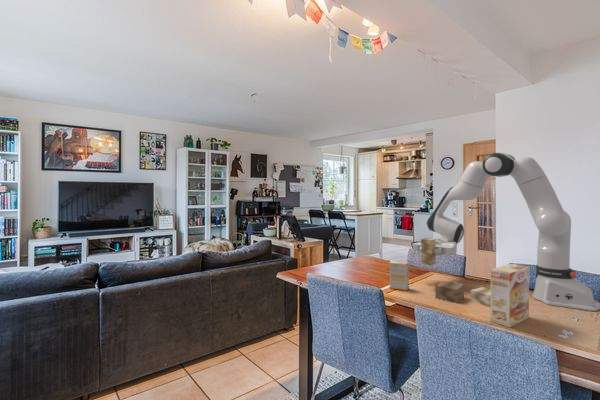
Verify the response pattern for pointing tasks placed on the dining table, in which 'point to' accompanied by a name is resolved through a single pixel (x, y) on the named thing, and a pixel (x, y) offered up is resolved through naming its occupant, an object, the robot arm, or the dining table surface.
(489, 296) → the beech block
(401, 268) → the supplement box
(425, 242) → the oak pillar
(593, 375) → the dining table surface
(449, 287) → the walnut block
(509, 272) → the coffeecake box
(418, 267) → the dining table surface
